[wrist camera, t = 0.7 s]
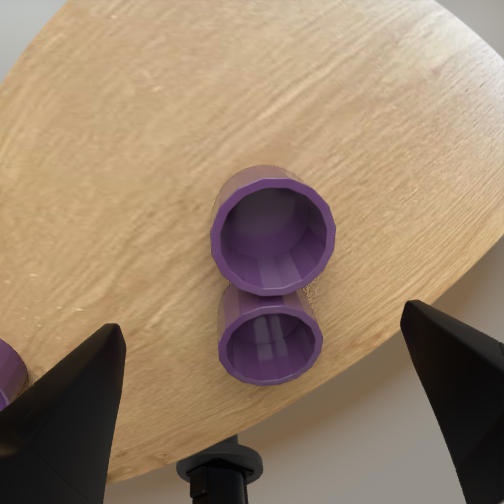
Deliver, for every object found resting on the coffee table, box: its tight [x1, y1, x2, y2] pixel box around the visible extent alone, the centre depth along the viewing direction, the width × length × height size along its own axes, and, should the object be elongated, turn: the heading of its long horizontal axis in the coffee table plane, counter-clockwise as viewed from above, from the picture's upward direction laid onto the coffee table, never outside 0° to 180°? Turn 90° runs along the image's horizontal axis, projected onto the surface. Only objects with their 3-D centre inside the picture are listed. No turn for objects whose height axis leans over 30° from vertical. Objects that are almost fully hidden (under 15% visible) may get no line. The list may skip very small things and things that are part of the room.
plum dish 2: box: [210, 165, 336, 296], centre depth 18 cm, size 6×6×5 cm
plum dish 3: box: [218, 283, 323, 386], centre depth 21 cm, size 6×6×5 cm
